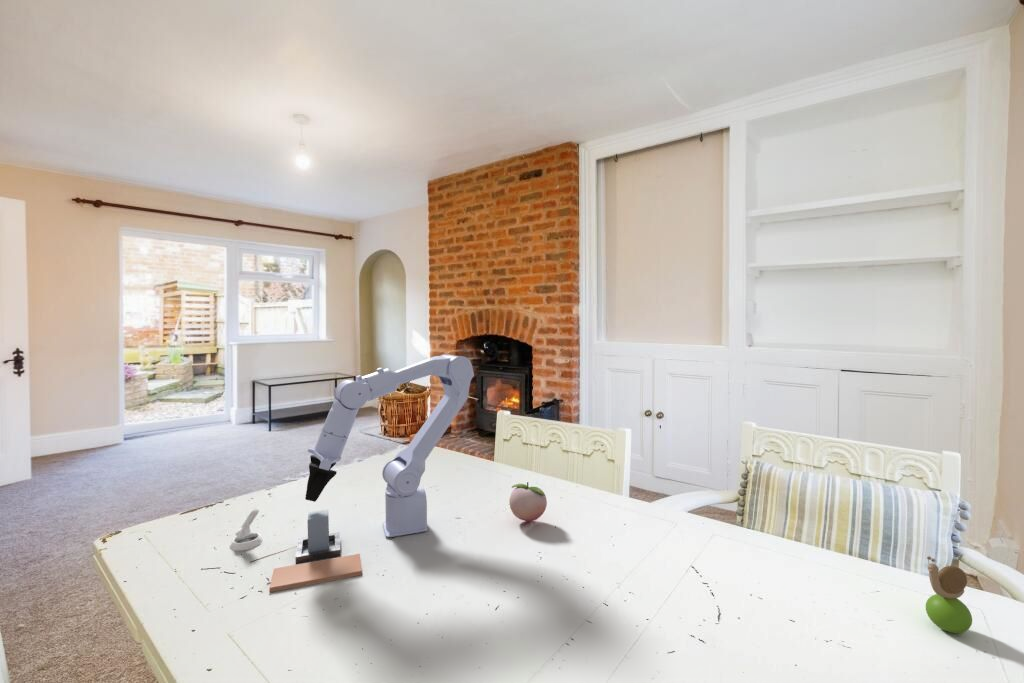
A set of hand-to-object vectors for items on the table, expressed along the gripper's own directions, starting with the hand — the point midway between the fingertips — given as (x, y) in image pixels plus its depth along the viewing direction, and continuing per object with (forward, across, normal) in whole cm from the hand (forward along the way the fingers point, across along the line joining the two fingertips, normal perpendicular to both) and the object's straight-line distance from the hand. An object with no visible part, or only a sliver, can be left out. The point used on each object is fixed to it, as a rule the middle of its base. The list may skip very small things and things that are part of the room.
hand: (310, 495), depth 99 cm
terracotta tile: (+11, +10, +6) cm, 16 cm away
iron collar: (+11, 0, +6) cm, 12 cm away
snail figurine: (-20, +64, +94) cm, 116 cm away
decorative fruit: (-6, +4, +50) cm, 50 cm away
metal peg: (+11, 0, +6) cm, 12 cm away
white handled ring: (+16, -10, -8) cm, 20 cm away
